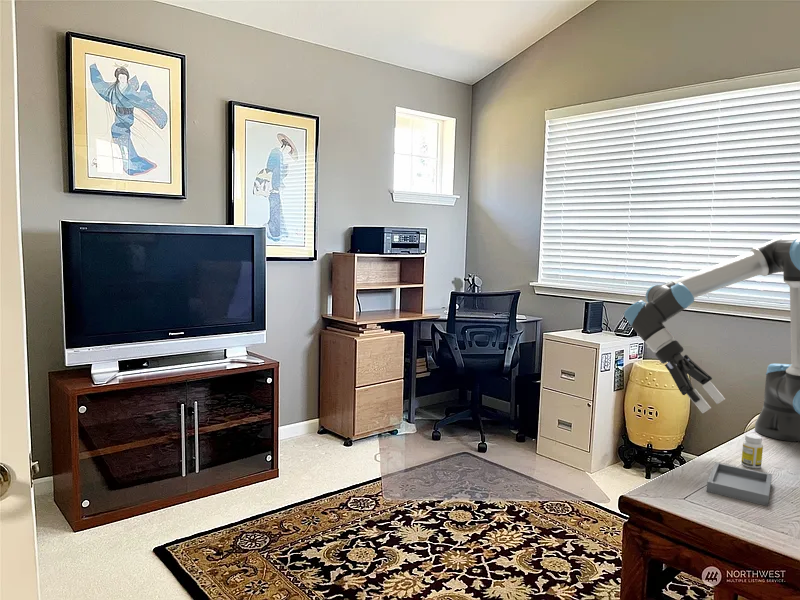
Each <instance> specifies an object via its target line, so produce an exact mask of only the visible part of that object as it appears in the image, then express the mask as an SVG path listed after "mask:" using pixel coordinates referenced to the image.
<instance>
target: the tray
mask: <svg viewBox="0 0 800 600" xmlns="http://www.w3.org/2000/svg"><path fill="white" fill-rule="evenodd" d="M772 477H773V474H772V473H769V472H764V471H758V470H755V469H751V468H750V469H749V468H745V467H740V466H737V465H731V464H727V463H721V462H717V461H715V462H714V464H713V467H712V468H711V472H710V474H709V477H708V479H707V482H706V492H708V493H711V494H716V495H720V496H724V497H728V498H733V499H736V500H740V501H745V502H748V503H749V502H750V503H753V504H758V505H761V506H767V507H768V506H769V499H770V492H771V486H772Z"/></svg>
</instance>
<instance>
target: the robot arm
mask: <svg viewBox="0 0 800 600" xmlns="http://www.w3.org/2000/svg"><path fill="white" fill-rule="evenodd" d="M776 273H777V274H778V273H783V275H782V276H783V277H782V278H783V282H785V284H787V285H788V286H789V307H790V308H789V309H790V310H789V311H790V312H789V313H790V314H789V315H790V351H791V353H790V354H791V355H790V356H791V359H790V360H791V363H790V364H788V363H770V364H768V365H767V368H766V372H765V385H764V395H763V396H764V397H763V405H762V409H761V411H760V412H759V415H758V416H757V419H756V420H755V423H754V431H755V432H756V433H758V434H760V435H762V436H765V437H768V438H770V439H771V438H772V439H775V440H780V441H786V442H795V443H797V442H796V441H798V443H799V441H800V233H791V234H785V235H782V236H780V237H779V236H778V237H777V238H774V239H772V240H769V241H768V242H765V243H763V244H759V245H757V246H754V247H752V248H751V249H750V251H749V252H748V253H744V254H742V255H739V256H737V257H735V258H731V259H729V260H726V261H723V262H719V263H718V264H715V265H712V266H710V267H709V266H708V267H707V268H704V269H701V270H698V271H696V272H692V273H691V274H688V275H684V276H682V277H680V278H677V279H674V280H672V281H669V282H666V283H663V284H656V285H655V284H654V285H652V286H651V287H649V288H648V289H647V290H646V292H645V301H646V302H645V301H644V300H638V301H636V302H634V303H633V304H631V305H630V306H629V307H628V308H626V310H624V313H623V316H624V318H625V320H626V321H627V323H628V324H629V325H630V327H631V328H632V329H633V330H634V331H635V333H637V335H638V336H639V337H640V338H641V339H642V341H643V342H644V343H645V345H646V348H647V349H650V350H651V352H652V353H655V357H656V358H657V359H658V361H659V362H660V363H661V364H663V365H664V366H665V368H666V369H667V370H668V372H669V374H670V376H671V378H672V379H673V381H674V383H675V384H676V386H677V388H678V390H679V391H680V394H681V395H682V396H685V395H687V396H688V398H689V399H690V400H691V402H692V403H693V404H694V405H695V406H696V407H697V408H698V410H699V411H700V412H701V414H705V413H706V412H708V411H709V410H711V409H712V407H711V405H709V403H708V402H707V400H706V399H705V397H703V396H702V394H700V393H699V391H698V389H697V388H694V386H693V385H692V383H691V379H690V378H689V376H690V377H692V378H693V379H694V380H695V381H697V382H698V383H700V384H701V386H702V388H703V389H704V391H705V392H706V393H707V395H709V397H710V398H711V399H712V400H713V401H714V403H715V404H716V405H718V404H720V403H722V402H723V401H724V400H726V398H725V397H724V395H723V394H722V393H721V392H720V390H719V389H718V388H717V387H716V386H715V384H714V383H713V382H712V381H711V380H713V377H712V376H711V375H709V374H708V373H707V372H706V371H705V370H703V369H702V368H701V367H700V365H698V364H697V363H695V361H693V360H692V359H691V358H690V357H689V355H687V354H684V355H683V354H681V353H683V351H684V350H685V349H684V348H683V347H684V346H682V345H681V344H680V342H679V341H677V340H676V339H675V337H674V335H673V334H672V333H671V332H670V331H669V330H668V329H667V327H666V326H665V325H664V323H666V322H667V321H669V320H671V319H672V318H673V317H675V316H676V315H677V314H679V313H681V312H683V311H684V310H686V309H687V308H689V306H690V305H692V304H693V303H694V302H695V298H698V297H701V296H703V295H706V294H709V293H711V292H714V291H717V290H720V289H723V288H726V287H729V286H731V285H733V284H737V283H740V282H742V281H745V280H748V279H751V278H754V277H757V276H759V275H760V276H763V277H767V276H769V275H772V274H776Z"/></svg>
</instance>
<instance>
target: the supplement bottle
mask: <svg viewBox="0 0 800 600" xmlns="http://www.w3.org/2000/svg"><path fill="white" fill-rule="evenodd" d="M762 442H763V437H762V436H761V435H758V434H754V433H746V434H745V437H744V441H743V444H742V453H741V461H740V462H741V464H742V465H743V466H745V467H747V468H750V469H761V467H762V461H763V460H762V459H763V451H764V450H763V449H764V445H763V444H762Z"/></svg>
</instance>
